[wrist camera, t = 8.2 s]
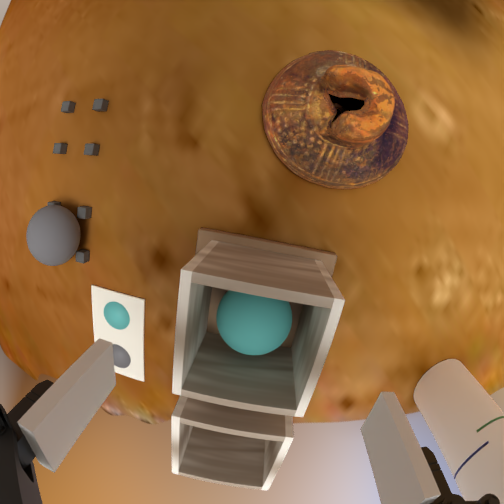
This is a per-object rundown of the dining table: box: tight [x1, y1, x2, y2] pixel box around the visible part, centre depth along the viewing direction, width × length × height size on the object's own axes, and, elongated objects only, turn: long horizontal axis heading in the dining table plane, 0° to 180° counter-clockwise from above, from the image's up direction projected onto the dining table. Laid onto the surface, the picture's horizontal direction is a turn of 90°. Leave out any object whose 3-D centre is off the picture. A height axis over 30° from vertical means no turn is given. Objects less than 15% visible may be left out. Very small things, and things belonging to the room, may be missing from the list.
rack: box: [172, 228, 345, 490], centre depth 21 cm, size 21×11×9 cm, turn 170°
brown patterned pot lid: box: [262, 50, 408, 189], centre depth 17 cm, size 12×12×7 cm
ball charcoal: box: [27, 205, 80, 266], centre depth 22 cm, size 6×6×6 cm
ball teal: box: [216, 290, 292, 355], centre depth 21 cm, size 6×6×6 cm
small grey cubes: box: [48, 99, 109, 263], centre depth 23 cm, size 15×5×1 cm, turn 170°
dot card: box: [91, 285, 145, 382], centre depth 26 cm, size 10×6×1 cm, turn 170°
